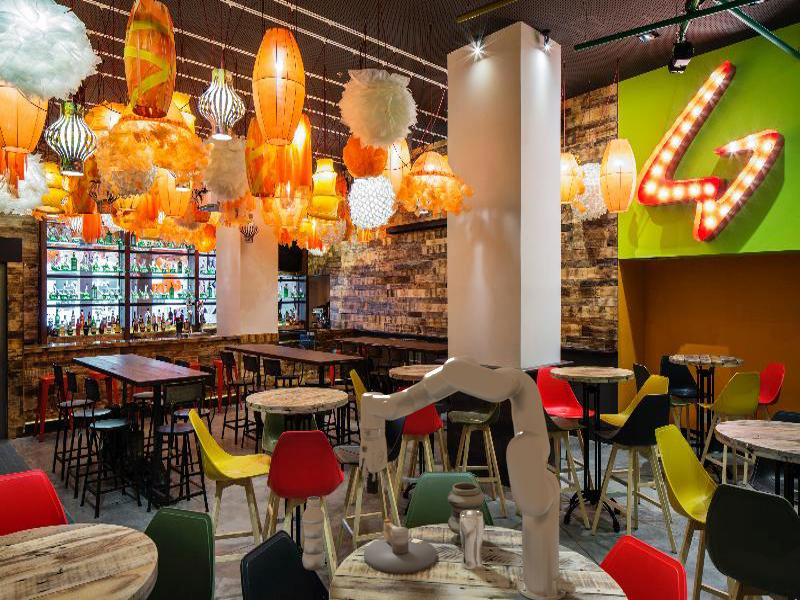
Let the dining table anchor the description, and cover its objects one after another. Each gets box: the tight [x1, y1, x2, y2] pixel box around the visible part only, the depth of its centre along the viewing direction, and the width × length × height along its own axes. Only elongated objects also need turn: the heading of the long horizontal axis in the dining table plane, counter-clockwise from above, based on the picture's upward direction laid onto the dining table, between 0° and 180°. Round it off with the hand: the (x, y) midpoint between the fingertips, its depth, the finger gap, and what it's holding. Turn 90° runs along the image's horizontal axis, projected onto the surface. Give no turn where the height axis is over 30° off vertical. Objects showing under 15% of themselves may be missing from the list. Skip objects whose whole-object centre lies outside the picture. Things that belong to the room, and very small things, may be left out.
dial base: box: [363, 537, 438, 574], centre depth 170 cm, size 22×22×2 cm
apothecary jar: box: [447, 481, 486, 548], centre depth 182 cm, size 12×12×18 cm
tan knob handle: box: [383, 518, 409, 554], centre depth 174 cm, size 12×5×6 cm, turn 27°
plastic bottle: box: [301, 496, 326, 571], centre depth 163 cm, size 6×7×20 cm
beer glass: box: [460, 510, 485, 571], centre depth 164 cm, size 7×7×15 cm
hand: (372, 492), depth 173 cm, fingers closed
